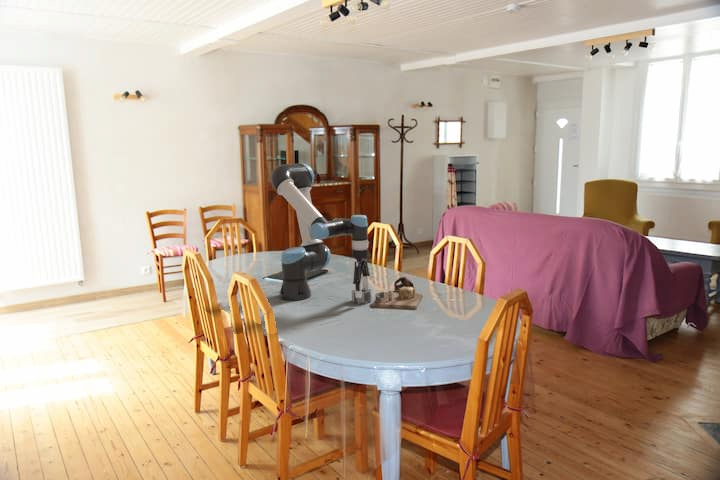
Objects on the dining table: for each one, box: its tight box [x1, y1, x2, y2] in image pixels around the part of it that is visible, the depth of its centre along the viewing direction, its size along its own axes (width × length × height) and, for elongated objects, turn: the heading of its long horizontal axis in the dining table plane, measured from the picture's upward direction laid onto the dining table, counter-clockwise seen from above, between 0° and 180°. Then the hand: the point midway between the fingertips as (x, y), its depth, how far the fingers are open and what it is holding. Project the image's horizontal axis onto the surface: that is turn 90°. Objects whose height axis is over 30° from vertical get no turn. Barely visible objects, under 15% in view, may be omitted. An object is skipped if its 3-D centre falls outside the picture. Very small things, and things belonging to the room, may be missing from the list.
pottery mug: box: [393, 276, 415, 293], centre depth 277 cm, size 12×10×8 cm
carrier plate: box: [371, 286, 424, 310], centre depth 259 cm, size 20×20×6 cm
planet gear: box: [351, 287, 372, 305], centre depth 261 cm, size 9×9×5 cm
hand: (362, 293), depth 260 cm, fingers open, 13 cm apart
